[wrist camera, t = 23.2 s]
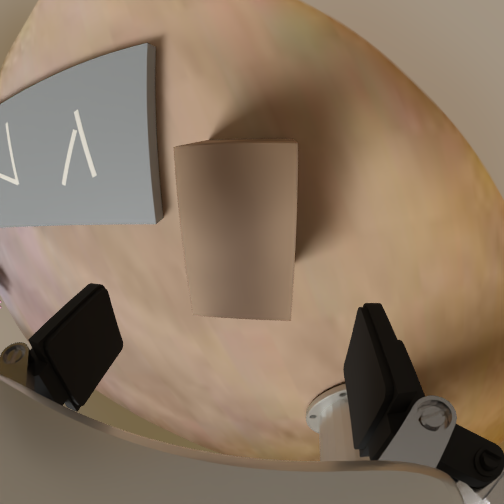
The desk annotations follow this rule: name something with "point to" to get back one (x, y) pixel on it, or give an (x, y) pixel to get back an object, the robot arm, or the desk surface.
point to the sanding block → (239, 225)
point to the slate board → (83, 146)
